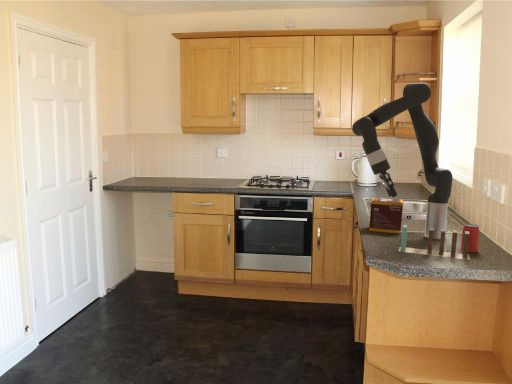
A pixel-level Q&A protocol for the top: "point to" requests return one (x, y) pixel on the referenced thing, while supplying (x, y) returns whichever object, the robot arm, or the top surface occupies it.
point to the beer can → (471, 237)
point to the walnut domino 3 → (454, 243)
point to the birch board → (433, 253)
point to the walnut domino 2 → (442, 242)
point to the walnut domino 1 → (430, 240)
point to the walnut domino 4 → (466, 244)
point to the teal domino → (404, 238)
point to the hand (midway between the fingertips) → (393, 196)
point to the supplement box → (386, 215)
